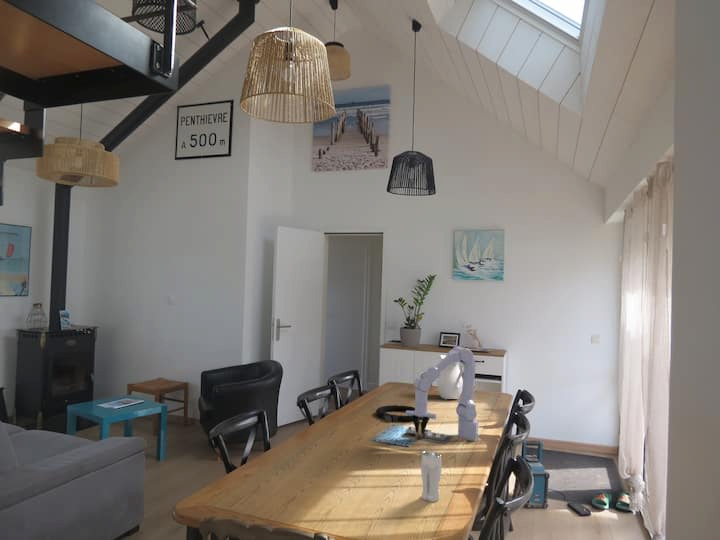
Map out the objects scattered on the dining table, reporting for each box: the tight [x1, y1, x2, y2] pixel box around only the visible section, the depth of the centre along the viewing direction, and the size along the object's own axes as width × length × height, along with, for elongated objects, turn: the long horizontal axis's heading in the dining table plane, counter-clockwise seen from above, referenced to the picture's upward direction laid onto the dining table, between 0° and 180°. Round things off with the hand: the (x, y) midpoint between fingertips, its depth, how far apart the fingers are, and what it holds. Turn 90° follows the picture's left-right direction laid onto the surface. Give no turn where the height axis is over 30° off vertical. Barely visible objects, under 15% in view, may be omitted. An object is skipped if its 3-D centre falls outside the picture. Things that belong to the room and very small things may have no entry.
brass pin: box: [417, 420, 423, 439], centre depth 242 cm, size 2×2×8 cm
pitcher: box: [436, 354, 464, 400], centre depth 338 cm, size 24×17×28 cm
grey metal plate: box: [405, 426, 448, 441], centre depth 247 cm, size 19×6×3 cm, turn 66°
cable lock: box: [375, 404, 423, 423], centre depth 287 cm, size 28×4×30 cm
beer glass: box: [420, 450, 443, 503], centre depth 176 cm, size 7×7×15 cm
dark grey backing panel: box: [400, 431, 454, 445], centre depth 246 cm, size 22×16×1 cm
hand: (420, 432), depth 242 cm, fingers closed on brass pin, 2 cm apart
